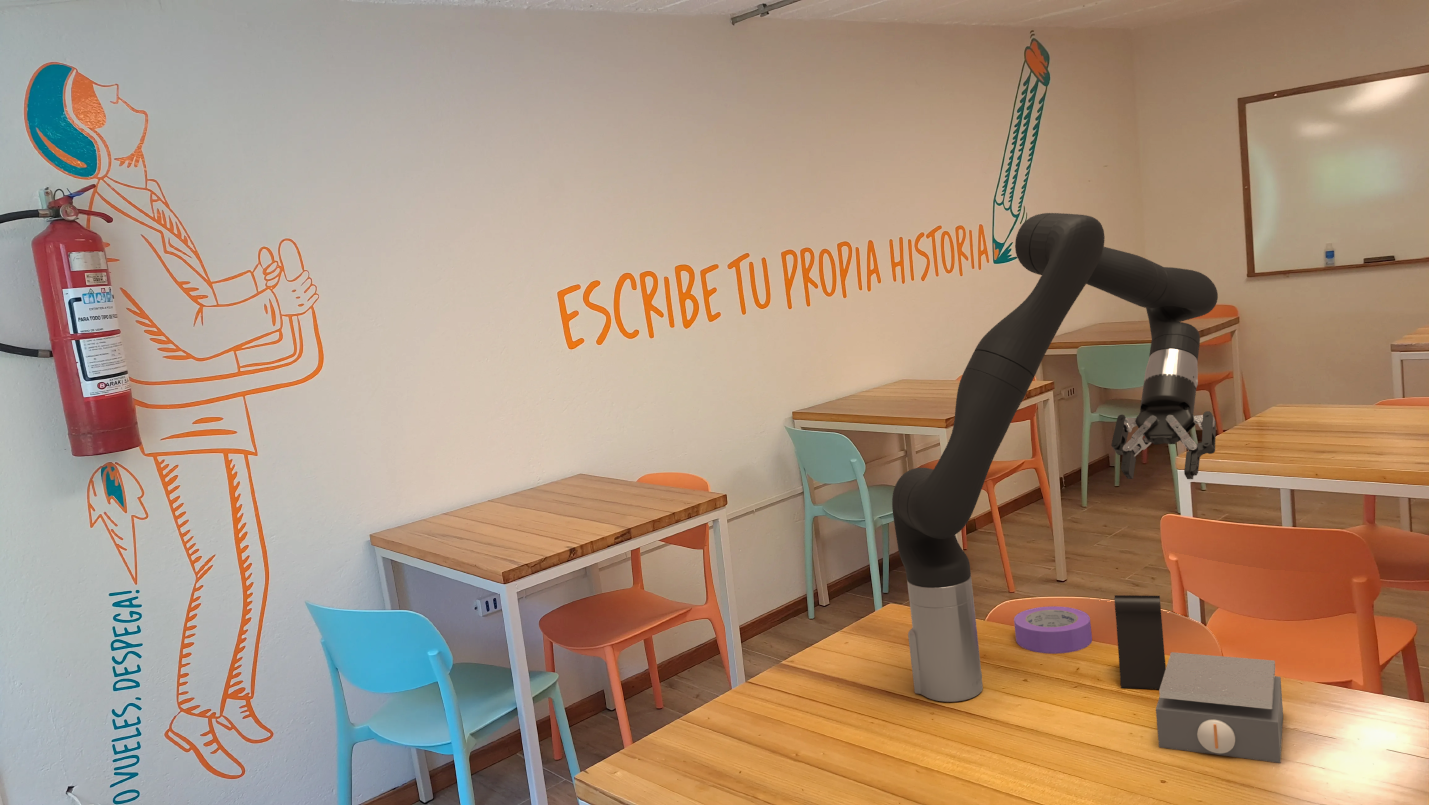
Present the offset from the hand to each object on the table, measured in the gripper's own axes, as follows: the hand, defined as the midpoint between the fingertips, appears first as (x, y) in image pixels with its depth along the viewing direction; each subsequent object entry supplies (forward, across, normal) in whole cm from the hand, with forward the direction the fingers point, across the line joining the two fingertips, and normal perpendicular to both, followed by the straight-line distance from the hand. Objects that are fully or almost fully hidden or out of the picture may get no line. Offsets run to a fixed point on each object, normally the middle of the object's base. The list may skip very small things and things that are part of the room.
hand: (1158, 476), depth 143 cm
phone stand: (+28, -1, +9) cm, 29 cm away
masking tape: (+22, -18, +15) cm, 32 cm away
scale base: (+36, +12, 0) cm, 38 cm away
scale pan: (+31, +12, -4) cm, 34 cm away
